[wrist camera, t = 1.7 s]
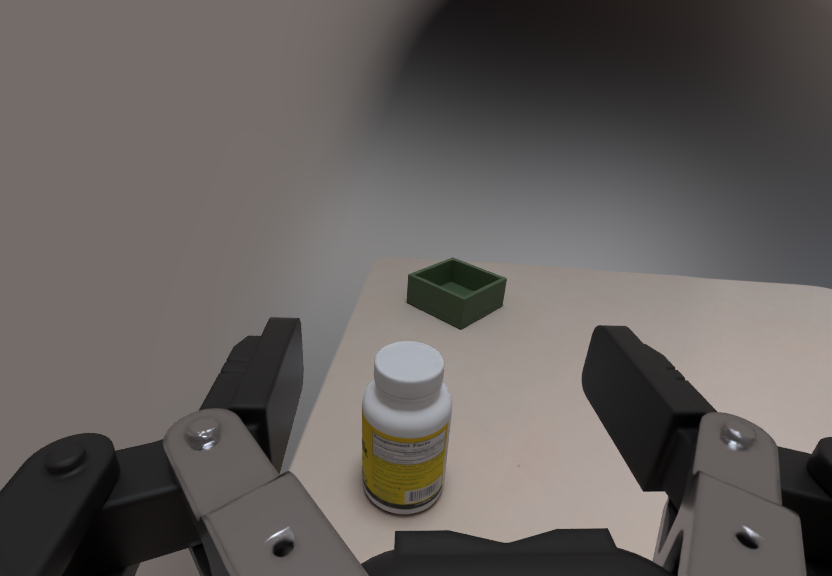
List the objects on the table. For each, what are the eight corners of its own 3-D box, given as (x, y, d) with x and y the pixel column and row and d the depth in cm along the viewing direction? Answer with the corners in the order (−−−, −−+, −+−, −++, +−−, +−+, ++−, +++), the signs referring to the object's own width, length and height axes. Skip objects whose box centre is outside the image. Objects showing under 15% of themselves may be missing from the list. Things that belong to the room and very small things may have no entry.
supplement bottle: (379, 442, 33) (383, 326, 29) (451, 463, 32) (467, 345, 28) (347, 502, 29) (346, 374, 24) (430, 530, 27) (445, 400, 23)
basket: (460, 329, 48) (464, 299, 47) (406, 302, 53) (408, 274, 51) (502, 306, 54) (507, 278, 52) (449, 283, 58) (452, 257, 57)
